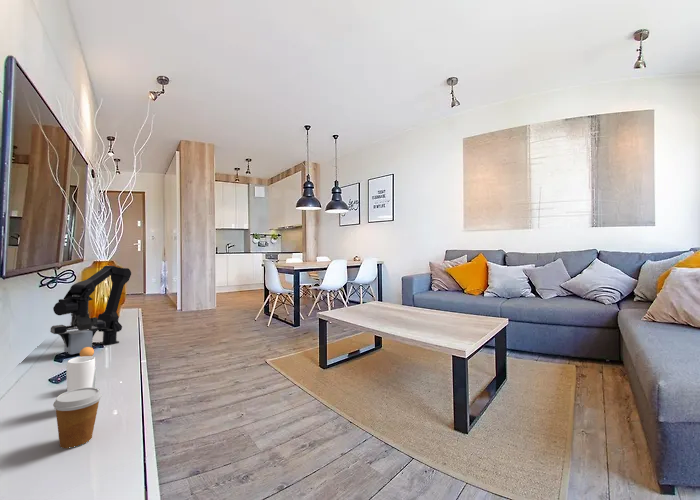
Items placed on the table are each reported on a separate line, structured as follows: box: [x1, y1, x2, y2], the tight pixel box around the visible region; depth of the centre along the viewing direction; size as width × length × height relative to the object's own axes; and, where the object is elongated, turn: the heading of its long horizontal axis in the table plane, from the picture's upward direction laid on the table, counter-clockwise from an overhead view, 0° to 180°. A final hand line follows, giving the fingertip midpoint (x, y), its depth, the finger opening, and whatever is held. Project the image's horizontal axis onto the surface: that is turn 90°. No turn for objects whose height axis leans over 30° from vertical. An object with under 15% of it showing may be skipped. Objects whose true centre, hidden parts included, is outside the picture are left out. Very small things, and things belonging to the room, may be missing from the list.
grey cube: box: [63, 329, 94, 355], centre depth 147 cm, size 8×8×9 cm
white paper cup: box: [66, 356, 96, 392], centre depth 98 cm, size 7×7×15 cm
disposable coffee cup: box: [52, 387, 103, 449], centre depth 82 cm, size 10×10×12 cm
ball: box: [79, 347, 95, 357], centre depth 141 cm, size 5×5×5 cm
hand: (78, 345), depth 146 cm, fingers closed on grey cube, 8 cm apart
